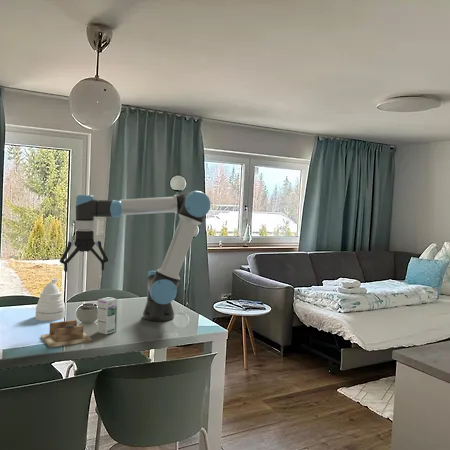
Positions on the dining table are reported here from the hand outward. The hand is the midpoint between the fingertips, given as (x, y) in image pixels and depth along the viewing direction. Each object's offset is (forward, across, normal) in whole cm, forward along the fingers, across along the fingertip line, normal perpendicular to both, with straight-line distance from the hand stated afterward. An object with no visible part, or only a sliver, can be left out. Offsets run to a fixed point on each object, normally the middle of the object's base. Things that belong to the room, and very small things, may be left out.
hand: (84, 278), depth 190 cm
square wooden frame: (+22, +9, +15) cm, 28 cm away
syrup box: (+22, -8, +10) cm, 26 cm away
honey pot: (+22, +12, -21) cm, 33 cm away
